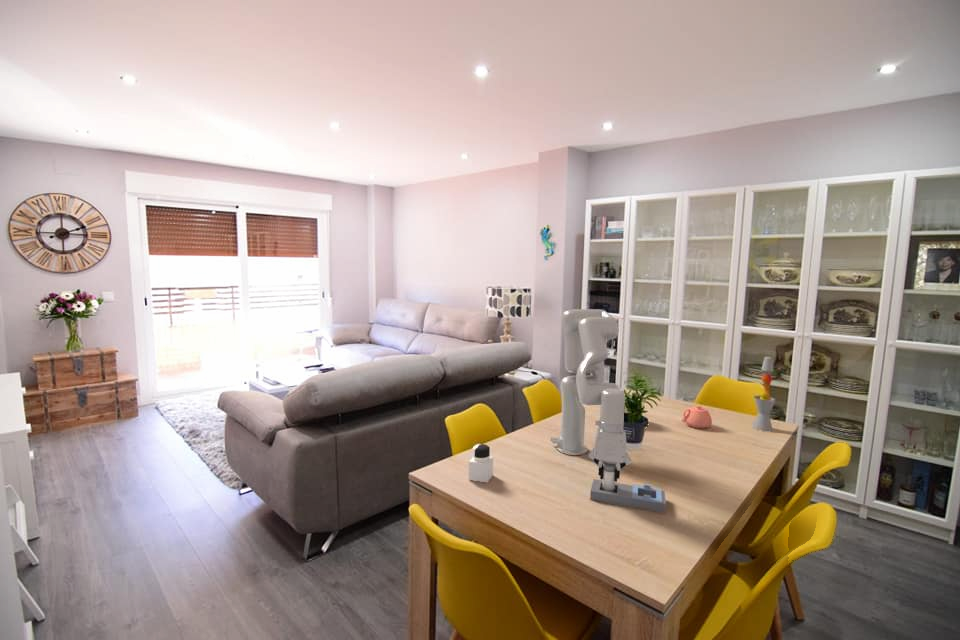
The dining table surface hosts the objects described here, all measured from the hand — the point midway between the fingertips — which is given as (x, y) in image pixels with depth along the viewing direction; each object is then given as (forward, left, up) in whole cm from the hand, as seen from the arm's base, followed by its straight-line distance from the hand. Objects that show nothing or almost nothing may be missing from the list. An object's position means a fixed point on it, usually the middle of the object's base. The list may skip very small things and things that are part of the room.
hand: (608, 478), depth 152 cm
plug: (0, 0, -5) cm, 5 cm away
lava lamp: (+65, +95, -6) cm, 115 cm away
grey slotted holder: (+6, 0, -6) cm, 9 cm away
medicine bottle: (-44, -3, -6) cm, 45 cm away
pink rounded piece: (+35, +87, -6) cm, 94 cm away
